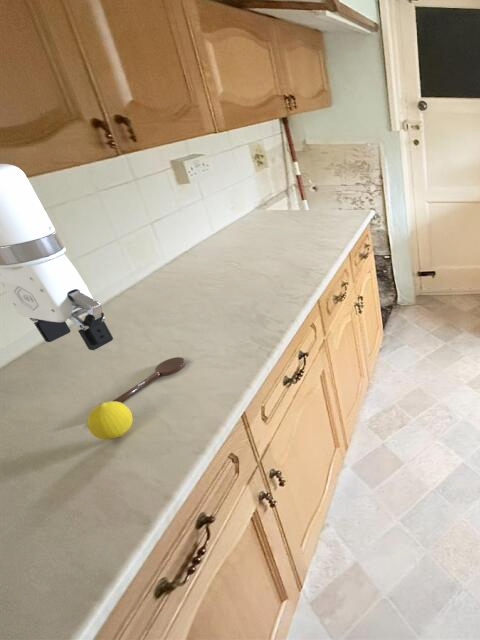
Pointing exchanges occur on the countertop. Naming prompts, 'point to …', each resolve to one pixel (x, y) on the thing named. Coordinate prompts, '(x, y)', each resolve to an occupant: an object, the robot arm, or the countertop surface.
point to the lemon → (109, 420)
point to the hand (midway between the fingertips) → (80, 340)
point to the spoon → (156, 375)
